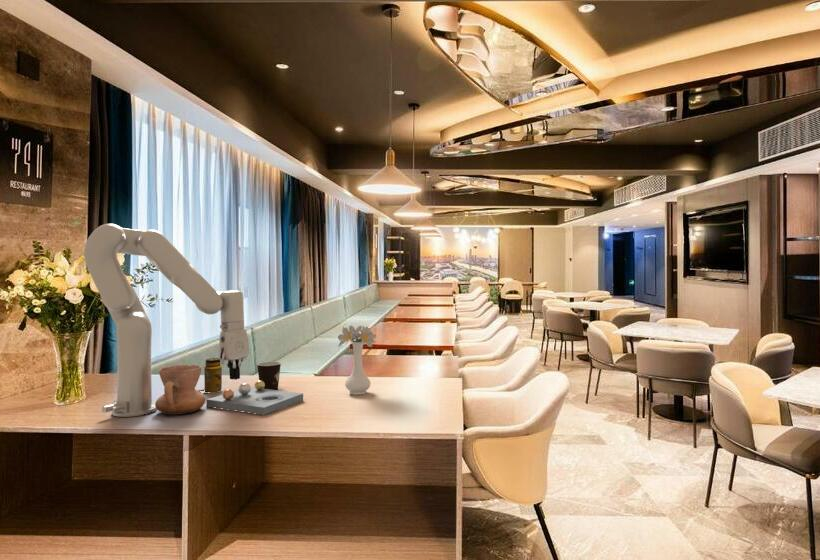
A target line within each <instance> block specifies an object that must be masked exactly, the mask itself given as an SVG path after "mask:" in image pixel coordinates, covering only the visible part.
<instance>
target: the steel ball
mask: <svg viewBox="0 0 820 560" xmlns="http://www.w3.org/2000/svg"><path fill="white" fill-rule="evenodd" d="M251 387H252V386H251V385H250V384H249V383H246V382H243V383H241V384H240V385H239V387H238V390H239V393H240V394H242V395H247V394H248V393H249V392H250V390H251Z"/></svg>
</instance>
